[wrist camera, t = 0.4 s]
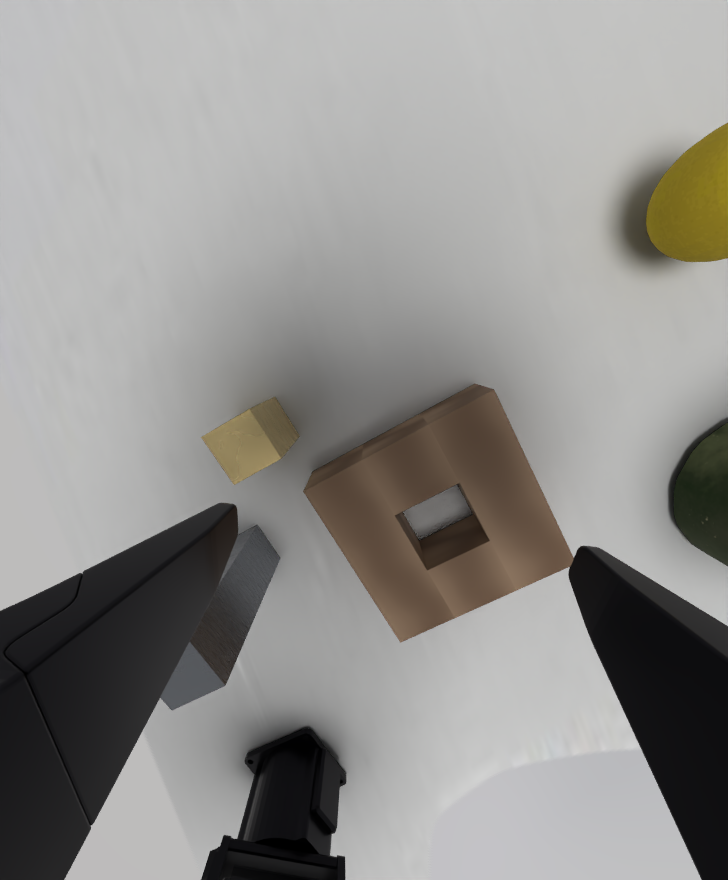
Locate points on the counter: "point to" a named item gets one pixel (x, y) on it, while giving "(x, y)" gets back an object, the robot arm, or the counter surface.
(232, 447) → the short pin
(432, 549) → the socket block
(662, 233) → the lemon
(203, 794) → the counter surface
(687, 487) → the dark green bottle
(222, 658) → the long pin
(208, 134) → the counter surface
